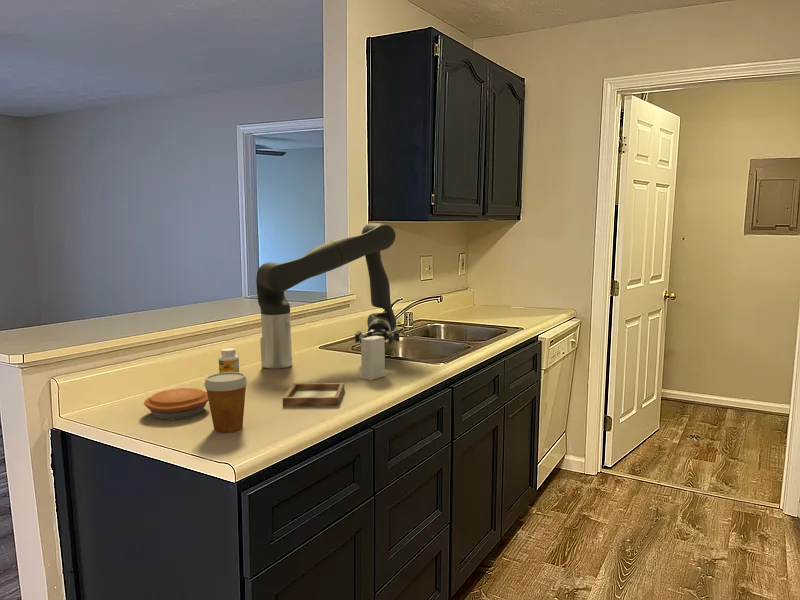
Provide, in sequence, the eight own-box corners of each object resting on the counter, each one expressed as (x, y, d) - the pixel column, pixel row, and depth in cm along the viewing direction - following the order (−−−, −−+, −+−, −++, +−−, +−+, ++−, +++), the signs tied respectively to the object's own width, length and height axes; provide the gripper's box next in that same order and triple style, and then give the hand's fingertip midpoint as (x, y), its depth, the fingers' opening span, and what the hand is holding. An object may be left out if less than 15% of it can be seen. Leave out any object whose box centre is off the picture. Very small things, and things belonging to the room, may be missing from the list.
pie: (163, 403, 161) (162, 384, 161) (221, 403, 160) (220, 385, 159) (132, 422, 146) (130, 402, 145) (195, 423, 145) (194, 402, 144)
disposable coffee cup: (258, 423, 144) (255, 373, 142) (234, 437, 135) (231, 383, 133) (223, 419, 147) (220, 370, 145) (197, 433, 138) (194, 380, 136)
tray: (282, 406, 156) (282, 398, 156) (293, 391, 170) (293, 383, 170) (338, 406, 156) (337, 397, 156) (344, 390, 170) (344, 382, 169)
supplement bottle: (215, 385, 177) (213, 350, 176) (228, 380, 182) (226, 346, 181) (231, 387, 175) (229, 351, 174) (243, 382, 180) (242, 348, 179)
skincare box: (374, 374, 187) (374, 334, 186) (385, 376, 184) (385, 336, 183) (360, 378, 183) (359, 338, 181) (371, 380, 180) (371, 339, 178)
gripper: (357, 320, 209) (352, 329, 193) (399, 319, 209) (398, 328, 193) (358, 342, 210) (353, 353, 194) (400, 341, 210) (399, 352, 194)
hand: (376, 341), depth 193 cm, fingers open, 8 cm apart
